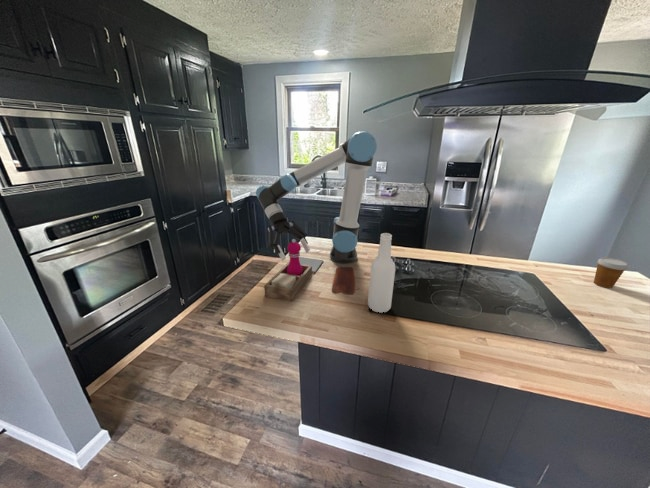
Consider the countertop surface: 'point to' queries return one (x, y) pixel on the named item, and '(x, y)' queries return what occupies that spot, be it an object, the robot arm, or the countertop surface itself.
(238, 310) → the countertop surface
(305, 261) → the slate tile
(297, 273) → the pepper mill
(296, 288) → the tray
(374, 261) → the alcohol
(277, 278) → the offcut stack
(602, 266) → the disposable coffee cup
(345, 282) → the wooden tablet
